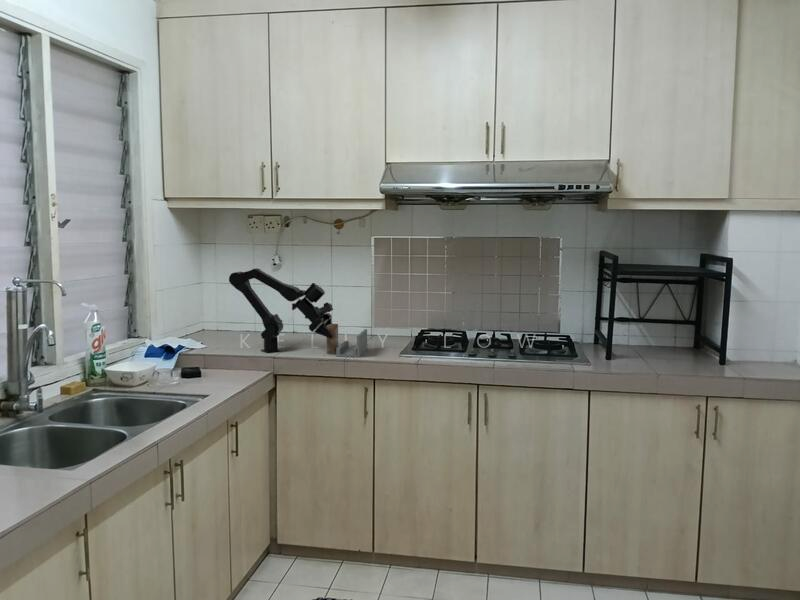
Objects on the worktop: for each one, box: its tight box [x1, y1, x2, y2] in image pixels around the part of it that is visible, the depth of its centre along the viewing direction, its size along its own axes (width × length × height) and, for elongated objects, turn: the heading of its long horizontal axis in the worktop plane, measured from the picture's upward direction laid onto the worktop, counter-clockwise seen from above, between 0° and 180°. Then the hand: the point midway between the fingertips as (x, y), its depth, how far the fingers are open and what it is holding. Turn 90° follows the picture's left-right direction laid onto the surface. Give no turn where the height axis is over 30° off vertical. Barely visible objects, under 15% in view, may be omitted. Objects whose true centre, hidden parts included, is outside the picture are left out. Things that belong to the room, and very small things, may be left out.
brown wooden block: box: [325, 323, 339, 355], centre depth 275 cm, size 4×6×12 cm
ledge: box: [335, 328, 368, 358], centre depth 274 cm, size 10×18×9 cm, turn 173°
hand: (334, 335), depth 275 cm, fingers open, 9 cm apart
